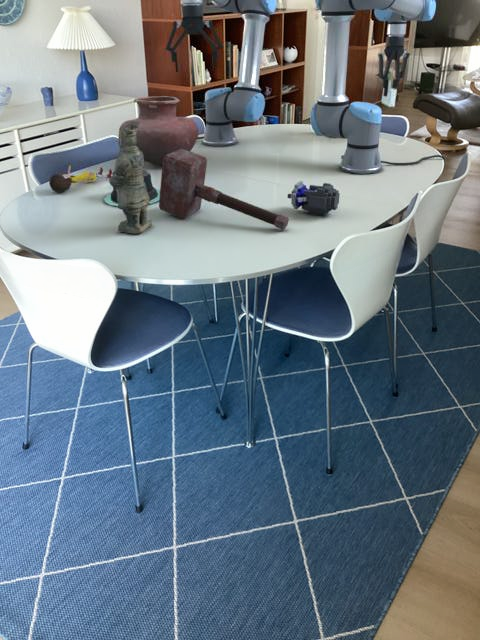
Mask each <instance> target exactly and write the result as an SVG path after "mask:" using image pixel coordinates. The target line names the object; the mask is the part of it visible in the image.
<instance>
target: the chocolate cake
mask: <svg viewBox="0 0 480 640" xmlns="http://www.w3.org/2000/svg"><path fill="white" fill-rule="evenodd" d="M113 175H114V171H112V175H111V176H113ZM143 178H144V182H145V184H146V188H147V192H148V195H149V197H150V204H154V203H157V202H159V198H160V188H156V187H154V185H153V182H152V174H151V172H149V171H148V170H146V169H144V168H143ZM103 200H104V202H105V203H106V204H108V205H109V206H115V207H118V202H117V192H116V189H115V188H114V187H112V191H111V193H108V194H107V195H106V196H104V198H103ZM150 204H149V205H150Z"/></svg>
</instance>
